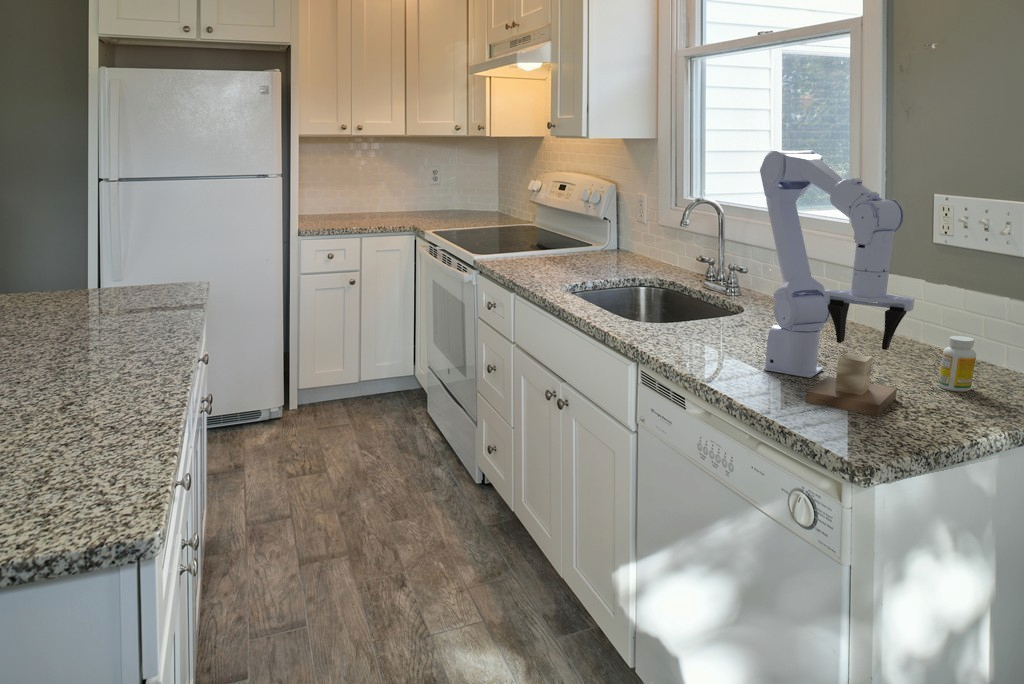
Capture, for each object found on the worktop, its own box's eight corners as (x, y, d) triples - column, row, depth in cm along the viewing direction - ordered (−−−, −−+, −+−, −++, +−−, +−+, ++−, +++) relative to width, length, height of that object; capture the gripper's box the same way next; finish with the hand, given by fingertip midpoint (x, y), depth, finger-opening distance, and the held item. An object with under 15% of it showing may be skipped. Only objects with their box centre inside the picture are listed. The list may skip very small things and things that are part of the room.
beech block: (834, 390, 138) (838, 357, 136) (842, 384, 141) (845, 352, 140) (861, 395, 135) (865, 361, 133) (868, 389, 138) (872, 356, 137)
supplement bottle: (934, 388, 146) (941, 338, 143) (942, 382, 149) (949, 333, 147) (966, 394, 142) (974, 343, 140) (974, 387, 146) (981, 338, 144)
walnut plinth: (805, 402, 137) (806, 391, 137) (826, 386, 147) (827, 376, 146) (877, 416, 130) (879, 404, 130) (895, 398, 139) (897, 388, 139)
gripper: (821, 268, 137) (813, 342, 141) (910, 276, 129) (900, 356, 132) (834, 263, 143) (826, 335, 146) (920, 271, 134) (910, 348, 137)
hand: (862, 345), depth 139 cm, fingers open, 7 cm apart
